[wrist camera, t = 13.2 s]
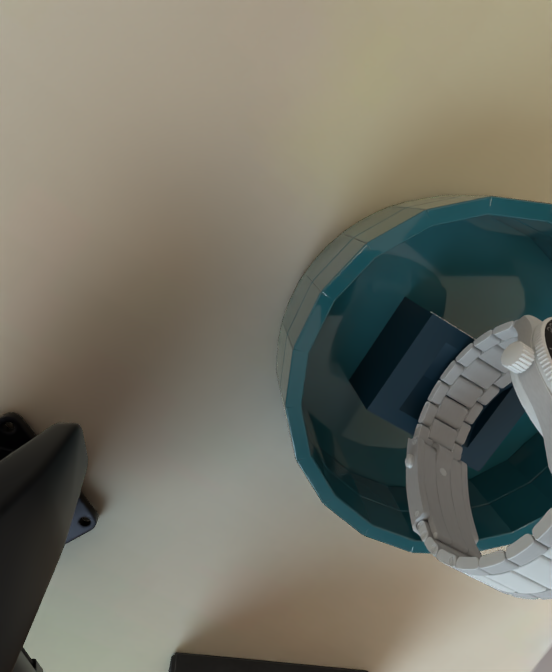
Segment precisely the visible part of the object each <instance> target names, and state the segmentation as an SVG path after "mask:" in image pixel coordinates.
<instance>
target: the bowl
mask: <svg viewBox="0 0 552 672" xmlns="http://www.w3.org/2000/svg"><path fill="white" fill-rule="evenodd" d="M404 297H406V298H408V299H410V300H411V301H413V302H414V303H416V304H418V305H419V306H421V307H423V308H424V309H426V310H428V311H429V312H433V313H435V314H436V315H438V317H439V316H440V317H441V318H443V319H444V320H446V321H448V322H449V323H451V324H452V325H454V326H456V327H457V328H459V329H460V330H462V331H464V332H465V333H467V334H468V335H470V336H472V337H473V339H474V338H475V339H477V338H478V337H480V336H481V335H483V334H484V333H486V332H487V331H489V330H494V328H495V327H497V326H499V325H502V324H504V323H507V322H510V321H515V320H519V319H520V318H521V317H523V316H524V315H531V316H534V317H536V318H538V319H539V320H541V321H544V320H545V319H547V318H549V317H552V204H550V203H542V202H534V201H527V200H519V199H512V198H504V197H496V196H468V195H467V196H466V195H442V196H437V197H432V198H423V199H418V200H413V201H408V202H403V203H400V204H397V205H393V206H391V207H388V208H385V209H382V210H380V211H378V212H376V213H374V214H372V215H370V216H368V217H366V218H364V219H362V220H361V221H359V222H358V223H356V224H355V225H353V226H351V227H350V228H348V229H347V230H345V231H344V232H343V233H342V234H340V235H339V236H338V237H337V238H336V239H335V240H333V241H332V242H331V243H330V244H329V245H328V246H327V247H326V248H325V249H324V250H323V251H322V252H321V253H320V254H319V255H318V257H317V258H316V259H315V260H314V261H313V262H312V264H311V265H310V266H309V268H308V269H307V271H306V272H305V274H304V275H303V276H302V278H301V279H300V281H299V283H298V285H297V287H296V289H295V291H294V293H293V294H292V296H291V298H290V301H289V303H288V306H287V309H286V312H285V314H284V317H283V321H282V325H281V330H280V334H279V339H278V351H277V367H276V371H277V372H276V373H277V377H278V382H279V387H280V392H281V397H282V401H283V406H284V411H285V416H286V420H287V424H288V429H289V433H290V437H291V442H292V446H293V450H294V455H295V459H296V461H297V463H298V464H299V466H300V468H301V469H302V471H303V472H304V474H305V476H306V477H307V479H308V481H309V482H310V484H311V485H312V487H313V489H314V490H315V492H316V493H317V495H318V497H319V498H320V500H321V501H322V503H324V505H325V506H326V507H328V508H329V509H330V510H332V511H333V512H334V513H335V514H337V515H338V516H339V517H340V518H342V519H343V520H344V521H346V522H347V523H348V524H349V525H351V526H352V527H353V528H354V529H356V530H357V531H358V532H360V533H361V534H362V535H364V536H366V537H369V538H372V539H375V540H378V541H380V542H383V543H386V544H389V545H392V546H394V547H397V548H400V549H403V550H406V551H408V552H412V553H430V552H429V551H428V549H427V548H426V546H425V544H424V542H423V541H422V539H421V537H420V536H419V535H418V534H417V533H416V532H414V531H413V528H412V523H411V518H410V513H409V506H408V499H407V490H406V465H405V459H406V455H407V443H408V438H410V439H412V438H413V437H414V436H413V435H411V434H409V433H407V432H406V431H404V430H402V429H400V428H398V427H397V426H395V425H393V424H391V423H389V422H388V421H386V420H384V419H382V418H380V417H379V416H377V415H375V414H373V413H371V412H369V411H368V410H366V408H365V406H364V405H363V403H362V401H361V400H360V398H359V397H358V395H357V393H356V392H355V390H354V388H353V387H352V385H351V383H350V382H349V379H350V378H351V376H352V375H353V373H354V372H355V370H356V369H357V367H358V366H359V364H360V363H361V361H362V360H363V358H364V357H365V355H366V354H367V352H368V351H369V349H370V348H371V346H372V345H373V343H374V342H375V340H376V339H377V337H378V336H379V334H380V333H381V331H382V330H383V328H384V327H385V325H386V324H387V322H388V321H389V319H390V318H391V316H392V315H393V313H394V312H395V310H396V309H397V307H398V306H399V304H400V303H401V301H402V300H403V298H404ZM467 479H468V493H469V502H470V508H471V512H472V517H473V521H474V524H475V528H476V531H477V534H478V542H477V544H476V546H477V548H478V549H479V551H483V550H487V549H492V548H496V547H501V546H505V545H510V544H512V543H514V542H515V541H517V540H518V539H520V538H521V537H522V536H524V535H525V534H531V535H533V534H532V530H533V528H534V526H535V525H536V524H537V523H538V522H539V521H540V520H541V519H542V518H543V516H544V515H545V514H546V513H547V511H548V510H549V509H551V508H552V473H551V471H550V469H549V467H548V461H547V455H546V449H545V444H544V438H543V436H542V435H541V434H540V432H539V431H538V430H537V428H536V427H535V425H534V424H533V423H532V421H531V420H530V418H529V416H528V414H527V413H526V411H525V412H524V414H523V415H522V416H521V418H520V419H519V420H518V421H517V423H516V424H515V425H514V427H513V428H512V429H511V431H510V432H509V433H508V435H507V436H506V437H505V439H504V440H503V441H502V442H501V444H500V445H499V446H498V448H497V449H496V450H495V452H494V453H493V454H492V456H491V457H490V458H489V460H488V461H487V462H486V463H485V465H484V466H483V467H482V469H481V470H480V471H479V472H478V471H476V470H474V469H473V468H471V467H469V466H467ZM430 554H431V553H430Z"/></svg>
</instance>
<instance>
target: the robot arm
mask: <svg viewBox="0 0 552 672" xmlns="http://www.w3.org/2000/svg"><path fill="white" fill-rule="evenodd" d="M6 422H11V423H12V424H13V425H14V427H15V428H14V429H12V428H9V427H8V426H7V425H6ZM87 465H88V456H87V451H86V446H85V441H84V436H83V431H82V428H81V426H80V425H79V424H77V423H56V424H54V425H52V426H51V427H49V428H48V429H46V430H45V431H43V432H42V433H40V434H39V435H37V436H36V435H35V434H34V432H33V431H32V430H31V428H30V427H29V426H28V425H27V423H26V422H25V421H24V420H23V418H22V417H20V416H19V415H18V414H15V413H7V414H4V415H3V416H1V417H0V672H43V669H42V668H41V666H40V665H39V663H38V662H37V661H36V659H31V658H30V657H29V655H28V654H27V652H26V651H25V650H24V648H23V645H24V642H25V640H26V637H27V635H28V633H29V630H30V628H31V625H32V623H33V621H34V618H35V616H36V613H37V611H38V609H39V606H40V604H41V601H42V599H43V597H44V594H45V592H46V589H47V587H48V585H49V582H50V580H51V577H52V575H53V573H54V570H55V568H56V565H57V563H58V561H59V558H60V555H61V553H62V550H63V548H64V545H65V544H66V543H68V542H70V541H72V540H74V539H76V538H77V537H79V536H81V535H83V534H85V533H87V532H88V531H90V530H92V529H93V528H94V527H95V525H96V523H97V520H98V513H97V511H96V510H95V509H94V508H93V506H92V505H91V504H90V503H89V501H88V500H87V499H86V498H85V496H84V495H83V494H82V493H81V487H82V484H83V481H84V477H85V474H86V470H87ZM82 517H87V518H89V519H90V521H85V520H83V519H82Z"/></svg>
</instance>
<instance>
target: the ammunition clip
mask: <svg viewBox="0 0 552 672" xmlns="http://www.w3.org/2000/svg"><path fill="white" fill-rule="evenodd" d="M169 672H368V671H361V670H351V669H340V668H330V667H319V666H309V665H298V664H288V663H277V662H267V661H256V660H246V659H235V658H225V657H214V656H204V655H193V654H183V653H176V654H175V655H173V656H172V657H171V662H170V667H169Z"/></svg>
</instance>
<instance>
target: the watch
mask: <svg viewBox="0 0 552 672" xmlns="http://www.w3.org/2000/svg"><path fill="white" fill-rule="evenodd" d="M349 382H350V383H351V385H352V387H353V388H354V390H355V392H356V393H357V395H358V397H359V398H360V400H361V401H362V403H363V405H364V406H365V408H366V410H368V411H369V412H371V413H373V414H375V415H377V416H379V417H380V418H382V419H384V420H386V421H388V422H389V423H391V424H393V425H395V426H397V427H398V428H400V429H402V430H404V431H406V432H407V433H409V434H411V435H413V436H414V437H413V438H412V439H410V438H408V443H407V455H406V459H405V465H406V490H407V499H408V506H409V513H410V518H411V523H412V528H413V531H414V532H416V533H417V534H418V535H419V536H420V537H421V539H422V541H423V542H424V544H425V546H426V548H427V549H428V551H429V552H430V553H431V554H432V555H433V556H435V557H436V558H437V559H438V560H439V561H441V562H442V563H444V564H446V565H448V566H450V567H452V568H454V569H456V570H458V571H460V572H462V573H464V574H466V575H468V576H470V577H472V578H474V579H476V580H478V581H480V582H482V583H484V584H486V585H488V586H490V587H492V588H494V589H496V590H498V591H500V592H502V593H505V594H508V595H509V594H510V595H512V596H514V597H518V598H523V599H538V598H540V599H552V508H551V509H549V510H548V511H547V513H546V514H545V515H544V516H543V518H542V519H541V520H540V521H539V522H538V523H537V524H536V525H535V526H534V528H533V530H532V534H533V535H531V534H525V535H524V536H522V537H521V538H520V539H518V540H517V541H515V542H514V543H512V544H511V545H509V546H508V547H507V548H506V552H505V551H503V550H498V551H495V552H493V553H490V554H486V555H483V556H482V555H481V553H480V551H479V549H478V548H477V546H476V544H477V542H478V534H477V531H476V528H475V524H474V521H473V517H472V512H471V508H470V502H469V493H468V479H467V466H469V467H471V468H473V469H474V470H476V471H478V472H479V471H480V470H481V469H482V467H483V466H484V465H485V463H486V462H487V461H488V460H489V458H490V457H491V456H492V454H493V453H494V452H495V450H496V449H497V448H498V446H499V445H500V444H501V442H502V441H503V440H504V439H505V437H506V436H507V435H508V433H509V432H510V431H511V429H512V428H513V427H514V425H515V424H516V423H517V421H518V420H519V419H520V418H521V416H522V415H523V414H524V412H525V411H526V413H527V414H528V416H529V418H530V420H531V421H532V423H533V424H534V425H535V427H536V428H537V430H538V431H539V432H540V434H541V435H542V436H543V438H544V444H545V449H546V455H547V461H548V467H549V469H550V471H551V473H552V317H549V318H547V319H545V320H544V321H541V320H539V319H538V318H536V317H534V316H531V315H524V316H523V317H521V318H520V319H519V320H515V321H510V322H507V323H504V324H502V325H499V326H497V327H495V328H494V330H489V331H487V332H486V333H484V334H483V335H481V336H480V337H478V338H477V339H475V338H474V339H473V337H472V336H470V335H468V334H467V333H465V332H464V331H462V330H460V329H459V328H457V327H456V326H454V325H452V324H451V323H449V322H448V321H446V320H444V319H443V318H441V317H440V316H439V317H438V315H436V314H435V313H433V312H429V311H428V310H426V309H424V308H423V307H421V306H419V305H418V304H416V303H414V302H413V301H411V300H410V299H408V298H406V297H404V298H403V300H402V301H401V303H400V304H399V306H398V307H397V309H396V310H395V312H394V313H393V315H392V316H391V318H390V319H389V321H388V322H387V324H386V325H385V327H384V328H383V330H382V331H381V333H380V334H379V336H378V337H377V339H376V340H375V342H374V343H373V345H372V346H371V348H370V349H369V351H368V352H367V354H366V355H365V357H364V358H363V360H362V361H361V363H360V364H359V366H358V367H357V369H356V370H355V372H354V373H353V375H352V376H351V378H350V379H349Z"/></svg>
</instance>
